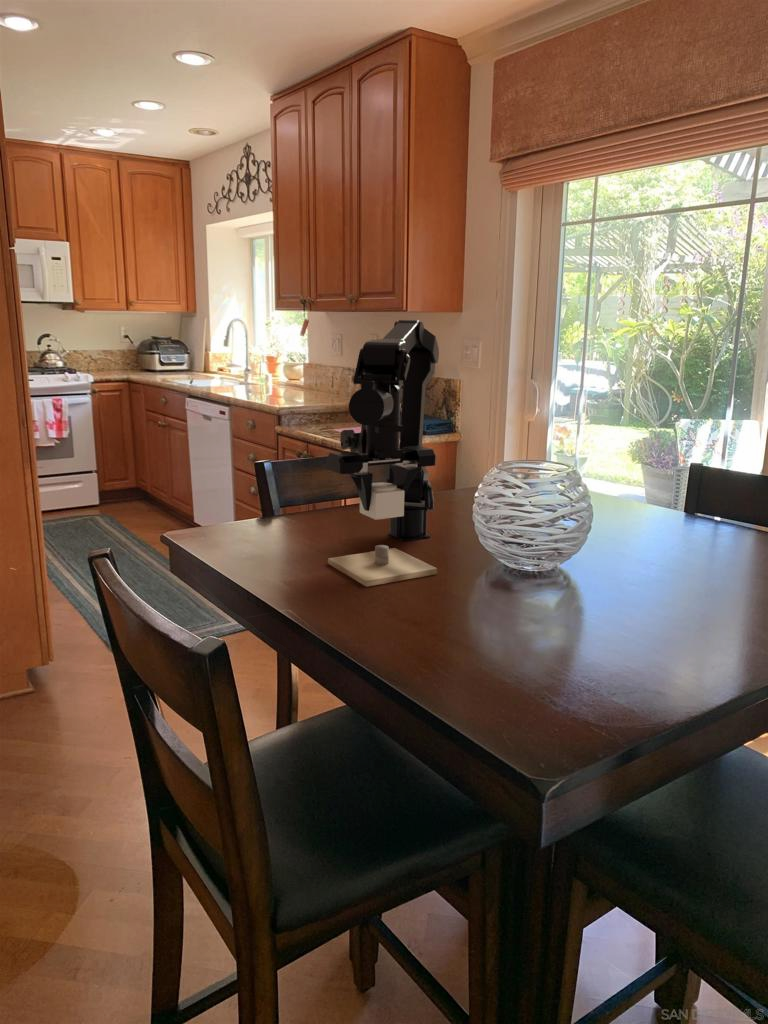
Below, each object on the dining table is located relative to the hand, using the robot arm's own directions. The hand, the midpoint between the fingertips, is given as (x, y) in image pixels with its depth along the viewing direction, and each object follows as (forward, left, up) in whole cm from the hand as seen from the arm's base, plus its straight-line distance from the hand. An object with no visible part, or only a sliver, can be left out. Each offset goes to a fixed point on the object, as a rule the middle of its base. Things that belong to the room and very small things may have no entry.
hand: (381, 508), depth 130 cm
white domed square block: (0, 0, -1) cm, 1 cm away
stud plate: (0, 0, -11) cm, 11 cm away
